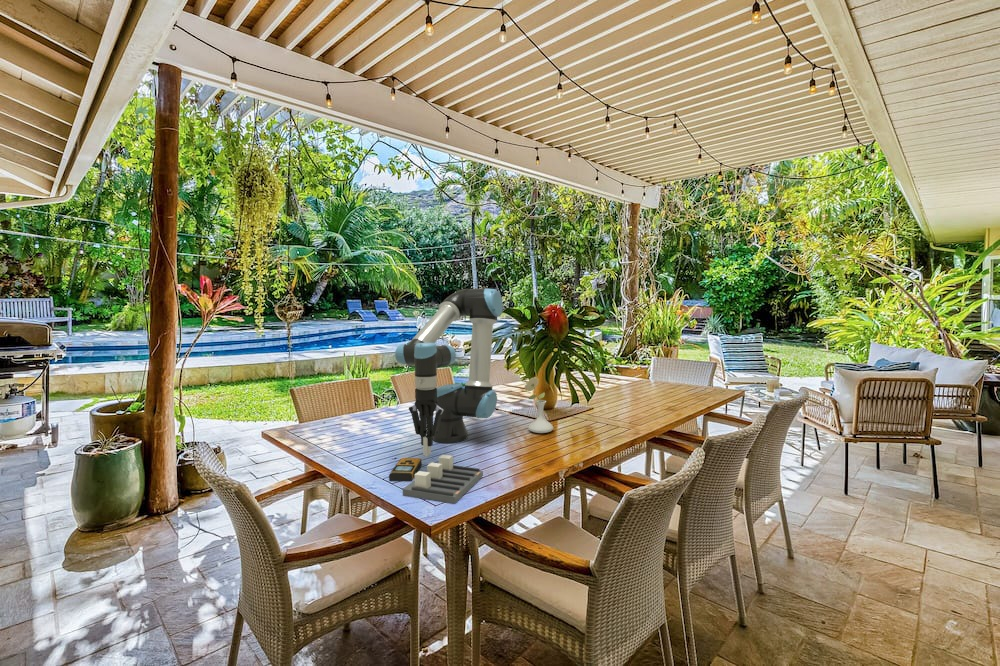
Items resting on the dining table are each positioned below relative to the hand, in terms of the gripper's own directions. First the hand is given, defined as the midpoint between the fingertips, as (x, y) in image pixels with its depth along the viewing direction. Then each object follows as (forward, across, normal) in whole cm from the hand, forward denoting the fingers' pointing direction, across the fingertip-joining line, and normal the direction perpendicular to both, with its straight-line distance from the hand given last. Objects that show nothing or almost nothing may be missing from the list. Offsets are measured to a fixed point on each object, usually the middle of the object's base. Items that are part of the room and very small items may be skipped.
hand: (427, 454), depth 167 cm
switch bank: (+7, +10, -8) cm, 15 cm away
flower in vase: (+6, +24, +60) cm, 64 cm away
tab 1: (+5, +7, -16) cm, 18 cm away
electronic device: (+7, -8, -2) cm, 11 cm away
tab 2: (+5, +7, -8) cm, 11 cm away
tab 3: (+5, +7, 0) cm, 8 cm away
